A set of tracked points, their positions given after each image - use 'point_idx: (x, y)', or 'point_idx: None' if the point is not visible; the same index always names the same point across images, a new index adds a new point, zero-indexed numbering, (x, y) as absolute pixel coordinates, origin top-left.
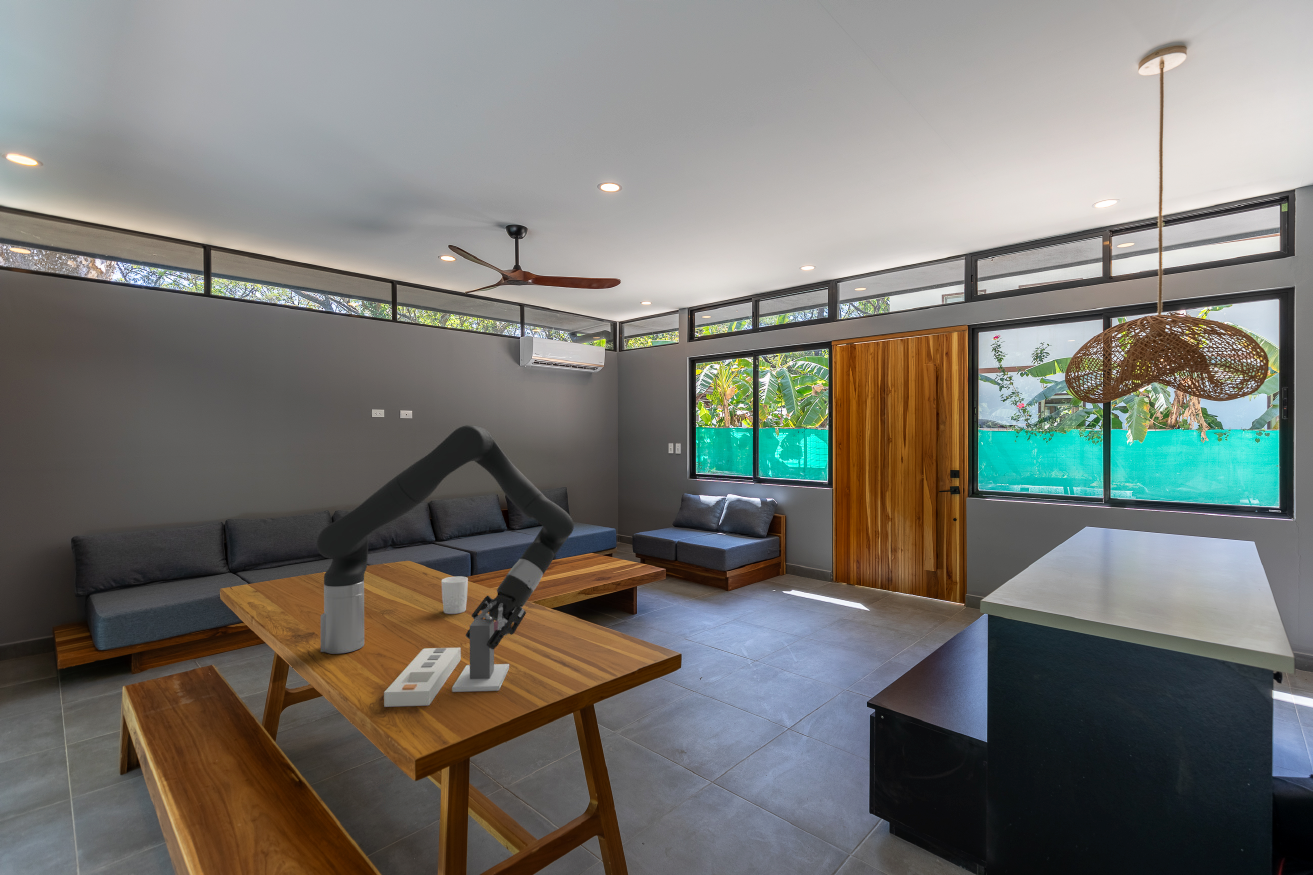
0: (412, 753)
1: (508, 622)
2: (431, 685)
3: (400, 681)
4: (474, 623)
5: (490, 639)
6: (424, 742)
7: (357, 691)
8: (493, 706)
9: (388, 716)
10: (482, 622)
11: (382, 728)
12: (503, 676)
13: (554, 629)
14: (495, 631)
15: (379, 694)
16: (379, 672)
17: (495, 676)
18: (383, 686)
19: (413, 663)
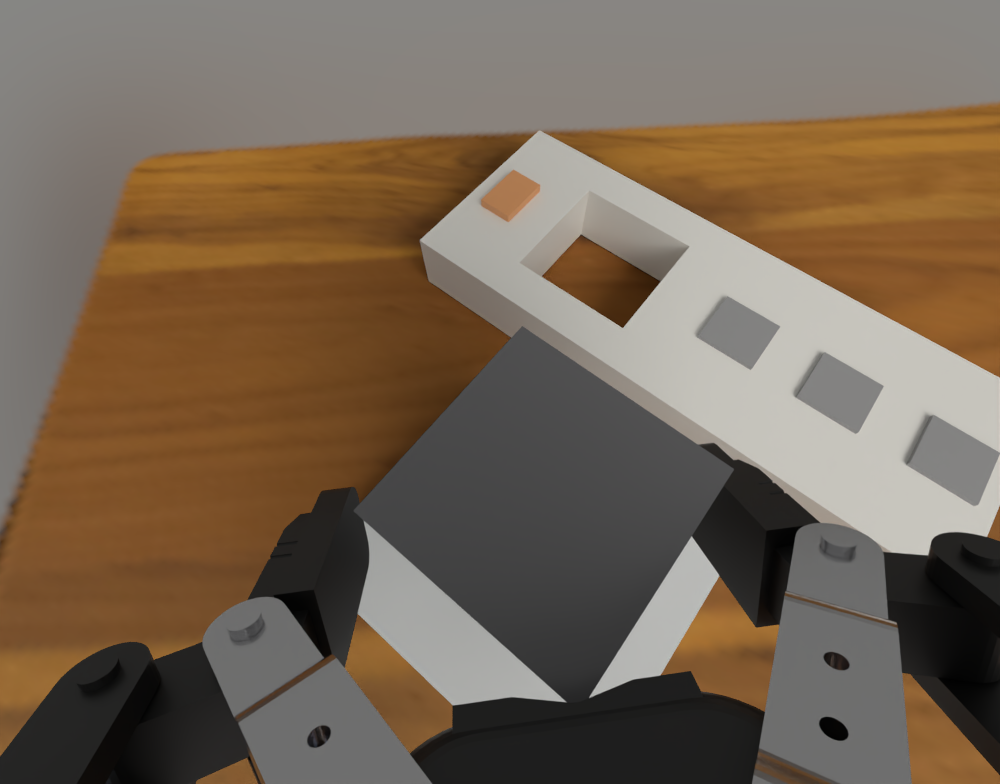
0: (164, 155)
1: (62, 749)
2: (467, 264)
3: (605, 192)
4: (576, 402)
5: (323, 512)
6: (189, 193)
7: (732, 150)
8: (197, 467)
9: (451, 169)
10: (541, 494)
11: (383, 140)
12: (411, 664)
13: None
14: (307, 576)
15: (656, 191)
16: (898, 242)
17: (443, 620)
18: (727, 217)
19: (805, 290)
